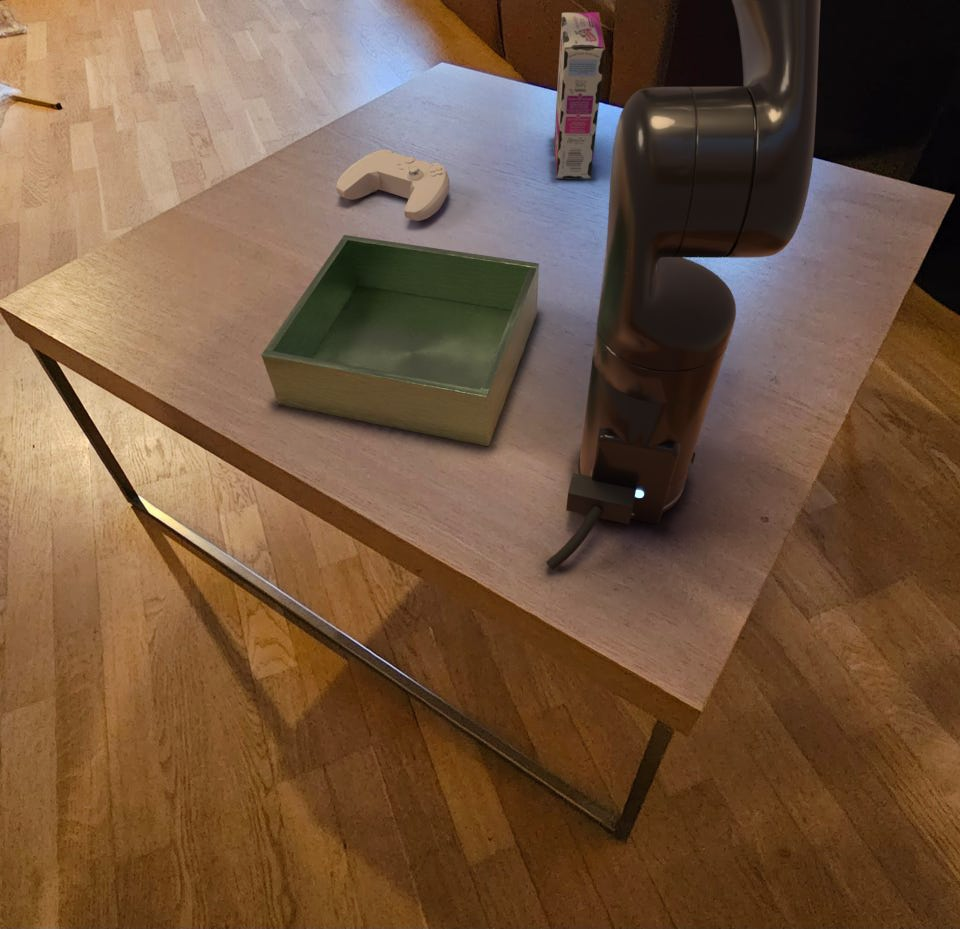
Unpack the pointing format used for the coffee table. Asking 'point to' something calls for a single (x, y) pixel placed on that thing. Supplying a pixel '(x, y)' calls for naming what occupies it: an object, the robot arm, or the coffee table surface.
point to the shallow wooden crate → (407, 338)
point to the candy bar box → (578, 94)
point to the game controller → (398, 181)
